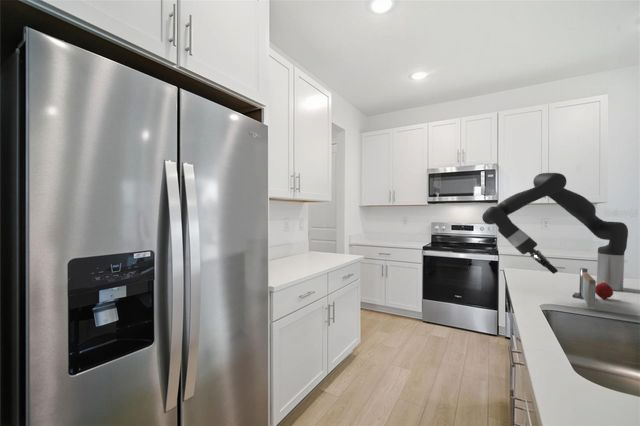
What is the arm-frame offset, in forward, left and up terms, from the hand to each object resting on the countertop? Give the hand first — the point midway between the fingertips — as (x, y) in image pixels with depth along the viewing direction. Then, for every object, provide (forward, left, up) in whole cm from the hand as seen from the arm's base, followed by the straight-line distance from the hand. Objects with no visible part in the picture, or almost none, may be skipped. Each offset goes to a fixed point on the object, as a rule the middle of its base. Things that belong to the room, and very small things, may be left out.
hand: (555, 272), depth 121 cm
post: (-15, +7, -12) cm, 20 cm away
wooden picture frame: (-4, +10, -11) cm, 15 cm away
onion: (-19, +13, -12) cm, 26 cm away
